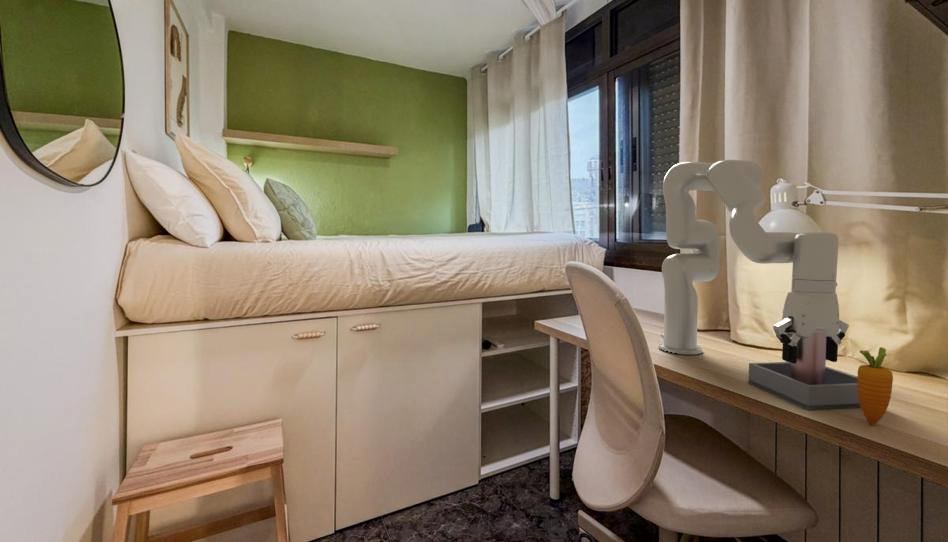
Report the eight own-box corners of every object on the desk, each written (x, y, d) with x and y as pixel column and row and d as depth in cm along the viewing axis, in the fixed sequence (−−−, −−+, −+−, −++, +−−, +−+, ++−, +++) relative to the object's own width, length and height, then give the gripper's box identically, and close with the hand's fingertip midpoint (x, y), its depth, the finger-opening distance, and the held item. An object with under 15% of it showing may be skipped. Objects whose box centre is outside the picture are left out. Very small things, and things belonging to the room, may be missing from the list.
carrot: (861, 428, 72) (866, 349, 71) (848, 417, 77) (852, 343, 76) (897, 433, 70) (902, 352, 69) (881, 421, 75) (886, 345, 74)
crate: (748, 382, 96) (749, 363, 95) (808, 380, 97) (809, 361, 97) (808, 410, 80) (809, 387, 80) (879, 407, 81) (880, 384, 81)
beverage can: (787, 383, 93) (789, 321, 92) (820, 387, 90) (822, 323, 89) (793, 391, 87) (795, 326, 87) (828, 395, 84) (830, 328, 84)
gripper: (832, 284, 91) (828, 355, 92) (763, 286, 90) (760, 357, 91) (866, 288, 84) (861, 364, 85) (791, 289, 82) (788, 367, 84)
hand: (809, 360), depth 88 cm, fingers open, 9 cm apart
